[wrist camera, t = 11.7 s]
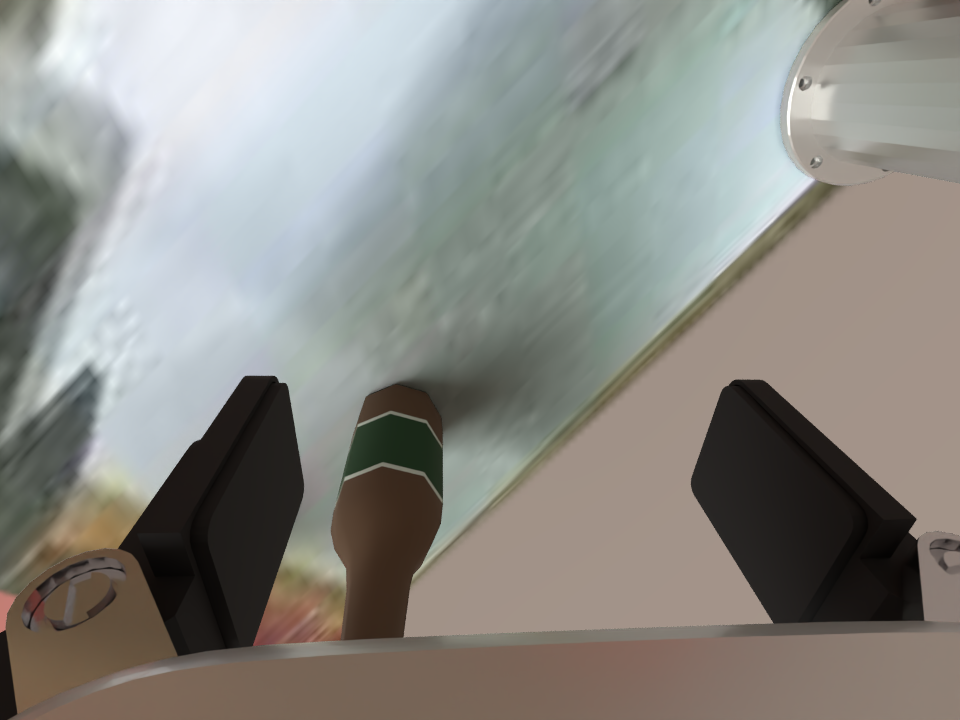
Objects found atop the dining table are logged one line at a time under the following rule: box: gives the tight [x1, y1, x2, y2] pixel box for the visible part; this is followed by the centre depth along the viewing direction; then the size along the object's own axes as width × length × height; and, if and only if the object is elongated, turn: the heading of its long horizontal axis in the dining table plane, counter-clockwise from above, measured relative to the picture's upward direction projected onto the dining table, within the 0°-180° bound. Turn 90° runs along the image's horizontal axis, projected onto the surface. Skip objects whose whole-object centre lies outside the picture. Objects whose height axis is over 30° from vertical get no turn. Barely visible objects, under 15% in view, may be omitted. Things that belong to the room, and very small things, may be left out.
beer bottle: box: [331, 384, 443, 641], centre depth 34 cm, size 8×8×24 cm
